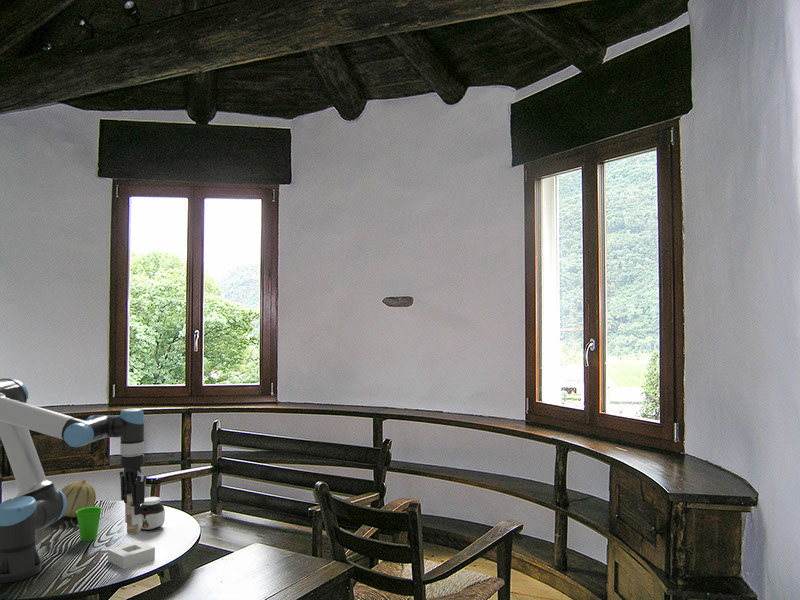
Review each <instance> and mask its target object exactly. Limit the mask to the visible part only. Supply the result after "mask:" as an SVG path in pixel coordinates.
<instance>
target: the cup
mask: <svg viewBox="0 0 800 600" xmlns="http://www.w3.org/2000/svg"><path fill="white" fill-rule="evenodd" d="M102 511H103V508H102V507H101V506H93V507H86V508H82V509H79V510H77V511H76V514H77V517H76V518H77V524H78V531H79V536H80V540H82V541H90V542H92V541H91V540H93V541H95V540H96V539H97V536H98V529H99V525H100V519H101V514H102ZM95 538H96V539H95ZM94 539H95V540H94ZM82 541H81V542H82Z"/></svg>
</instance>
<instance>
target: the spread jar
mask: <svg viewBox="0 0 800 600" xmlns="http://www.w3.org/2000/svg"><path fill="white" fill-rule="evenodd" d="M165 512H166V511H165V506H164V505H163V504H162V503H161V498H160V497H159V496H158V497H157V496H148V497H144V503H143V504H141V505H140V523H139V524H138V532H137V533H136V534H138V533H140V531H141V532H144V531H151V532H155V531H154V530H156V531H158V530H159V529H160V528H162V527H163V525H164V523H165V519H166V518H165V514H166V513H165ZM157 529H158V530H157Z"/></svg>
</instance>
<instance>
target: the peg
mask: <svg viewBox="0 0 800 600" xmlns="http://www.w3.org/2000/svg"><path fill="white" fill-rule="evenodd" d="M132 504H133V499H132V493H129V494H127V523H126V534H128V535H132V534H134V533H136V534H138V533H139V532H138V524H136V525H132V516H131V505H132ZM137 532H138V533H137Z"/></svg>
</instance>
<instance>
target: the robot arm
mask: <svg viewBox="0 0 800 600" xmlns="http://www.w3.org/2000/svg"><path fill="white" fill-rule="evenodd" d="M28 399H29V391H28V388H27V387H26V385H25V384H24V383H23V382H22V381H20V380H18V379H15V378H0V439H1V443H2V445H3V448H4V451H5V454H6V456H7V459H8V462H9V465H10V468H11V470H12V474H13V476H14V479H15V482H16V484H17V487H18V490H19V491H18V493H17V494H16V497H13V498H9V499H6V500H5V501H4V500H3V501H2V502H1V503H0V584H7V583H13V582H18V581H22V580H23V581H24V580H25V579H29V578H32V577H33V576H35V575H37V574H39V573H40V572H41V571H42V559H41V557H40V554H39V552H38V549H37V547H36V544H37V543H36V542H37V541H36V539H37V532H39V531H41V530H43V529H45V528H47V527H49V526H51V525H52V526H53V524H55V523H57V521H59V520H60V519H61V518H62V517H63V515H64V512H65V511H66V507H67V500H66V497H65V495H64V493H63V492H62V491H61V490H60V489H58V488H55V484H54V482H53V481H51V480H48V479H47V478H46V477H47V476H46V475H45V471H44V468H43V466H42V463H41V461H40V458H39V457H40V456H39V455H38V451H37V448H36V446H35V444H34V441H33V438H32V436H31V432H30V431H33V432H37V433H40V434H43V435H46V436H49V437H53V438H57V439H60V440H64V441H65V443H66V444H67V445H68V446H69V447H73V448H79V447H84V446H86V445H89V444H91V443H94V442H97V441H99V440H102V439H105V438H119V439H120V445H119V446H120V450H119V451H120V455H121V456H120V467H121V468H123V470H121V471H119V477H120V478H119V479H120V499H121V501H123V503H124V523H125V524H127V494H129V493H132V499H133V504H132V505H131V516H132V525H136V524H139V523H140V506H141V505H142V504H143V503H144V498H145V487H146V486H145V485H146V479H147V476H146V474H142V469H141V467H142V466H144V465H145V454H144V453H145V415H144V410H143V409H142V408H127V409H122V410H121V411H120V414H119V415H118V414H117V415H113V414H112V415H111V414H109V415H106V414H104V415H102V414H97V415H90V416H88V417H87V418H86V419H84V420H83V419H80V418H76V417H73V416H71V415H67V414H63V413H60V412H57V411H53V410H51V409H50V410H49V409H47V408H43V407H40V406H36V405H32V404H29V403H27V402H28Z"/></svg>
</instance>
